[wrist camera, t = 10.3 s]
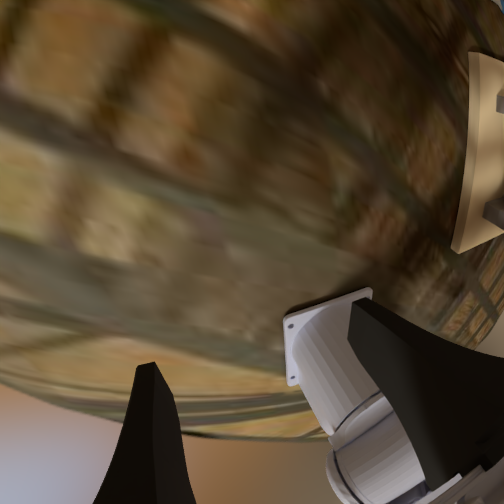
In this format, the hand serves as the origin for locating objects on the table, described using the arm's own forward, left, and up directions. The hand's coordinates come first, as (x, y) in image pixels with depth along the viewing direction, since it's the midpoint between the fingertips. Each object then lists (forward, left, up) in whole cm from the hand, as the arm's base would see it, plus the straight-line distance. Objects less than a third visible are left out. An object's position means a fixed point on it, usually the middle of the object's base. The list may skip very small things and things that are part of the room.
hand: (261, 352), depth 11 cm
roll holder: (+2, -29, -9) cm, 31 cm away
